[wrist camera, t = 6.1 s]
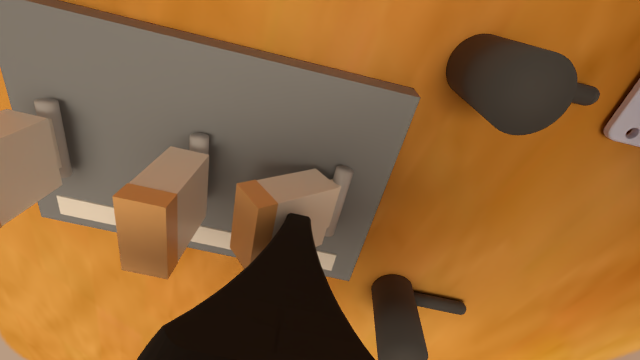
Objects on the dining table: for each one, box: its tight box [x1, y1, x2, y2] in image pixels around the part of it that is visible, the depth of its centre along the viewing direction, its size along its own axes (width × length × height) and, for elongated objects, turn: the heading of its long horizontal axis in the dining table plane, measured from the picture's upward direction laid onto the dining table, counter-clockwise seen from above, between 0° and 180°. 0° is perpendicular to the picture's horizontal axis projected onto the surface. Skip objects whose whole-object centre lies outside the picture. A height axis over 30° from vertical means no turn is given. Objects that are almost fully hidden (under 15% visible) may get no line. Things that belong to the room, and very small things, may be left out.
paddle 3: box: [0, 98, 72, 228], centre depth 13 cm, size 2×4×5 cm, turn 167°
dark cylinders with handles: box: [372, 34, 600, 360], centre depth 15 cm, size 7×17×4 cm, turn 167°
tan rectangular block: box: [230, 166, 353, 269], centre depth 14 cm, size 2×4×5 cm
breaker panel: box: [0, 0, 420, 281], centre depth 16 cm, size 17×11×2 cm, turn 77°
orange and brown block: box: [112, 133, 209, 279], centre depth 13 cm, size 2×4×5 cm, turn 167°
